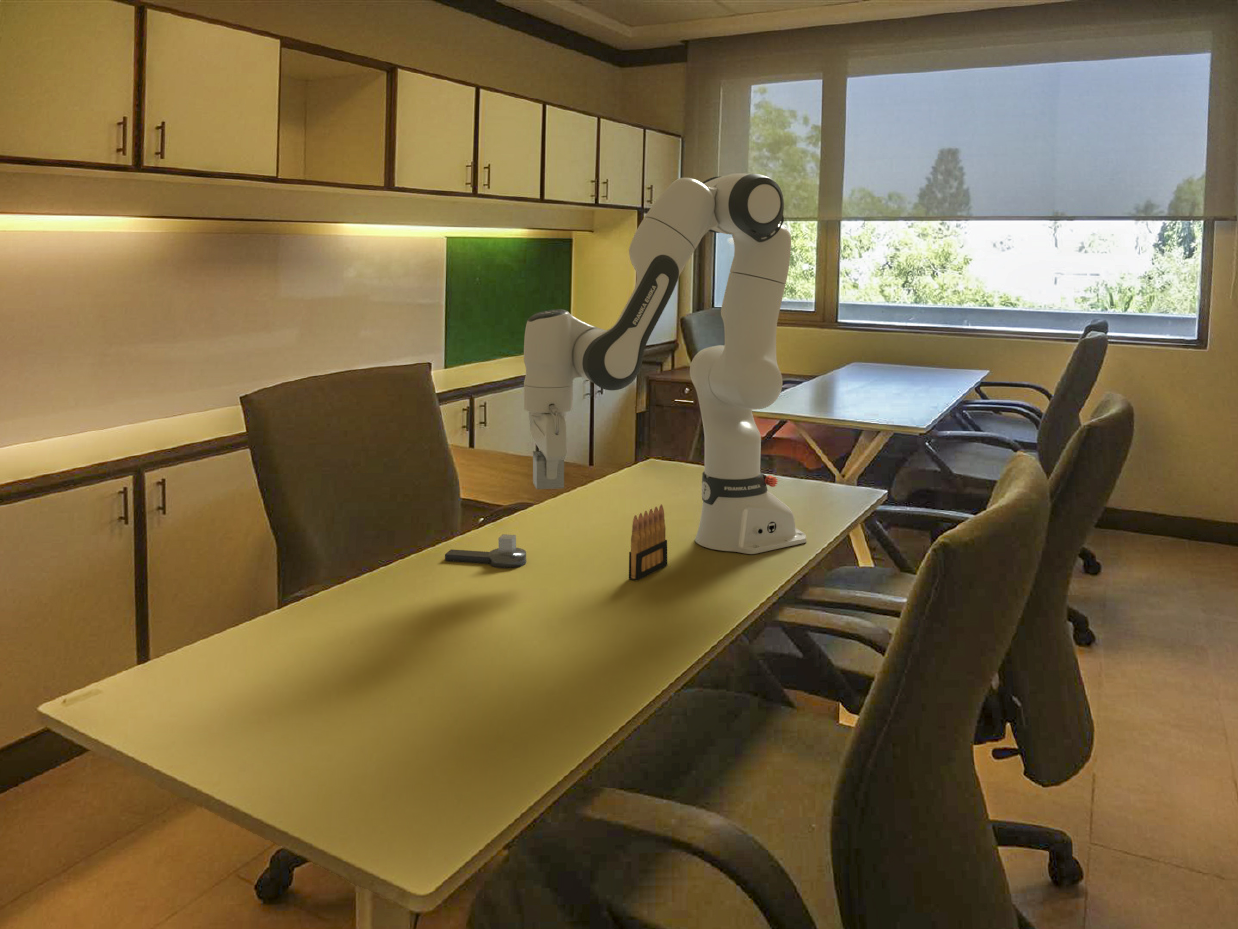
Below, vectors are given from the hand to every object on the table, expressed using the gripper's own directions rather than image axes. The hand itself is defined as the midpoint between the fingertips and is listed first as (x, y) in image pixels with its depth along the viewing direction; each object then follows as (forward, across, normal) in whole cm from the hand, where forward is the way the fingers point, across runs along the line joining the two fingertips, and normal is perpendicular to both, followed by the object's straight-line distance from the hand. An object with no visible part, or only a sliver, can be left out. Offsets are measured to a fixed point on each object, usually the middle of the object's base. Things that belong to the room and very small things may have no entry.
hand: (548, 474), depth 198 cm
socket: (+2, 0, 0) cm, 2 cm away
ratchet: (+18, +6, +11) cm, 22 cm away
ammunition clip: (+18, -7, -18) cm, 26 cm away
